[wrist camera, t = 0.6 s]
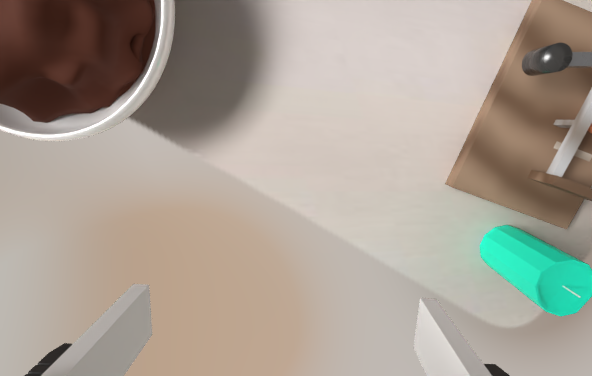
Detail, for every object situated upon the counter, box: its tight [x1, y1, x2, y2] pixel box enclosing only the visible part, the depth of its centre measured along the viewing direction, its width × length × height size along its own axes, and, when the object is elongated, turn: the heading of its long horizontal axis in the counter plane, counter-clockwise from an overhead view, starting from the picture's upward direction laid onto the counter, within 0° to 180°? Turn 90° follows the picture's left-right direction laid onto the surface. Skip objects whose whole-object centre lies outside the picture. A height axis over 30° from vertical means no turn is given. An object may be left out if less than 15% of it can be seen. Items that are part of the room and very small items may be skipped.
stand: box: [446, 0, 592, 229], centre depth 36 cm, size 22×15×6 cm
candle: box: [480, 225, 592, 316], centre depth 36 cm, size 6×6×12 cm
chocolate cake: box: [0, 0, 175, 141], centre depth 30 cm, size 25×25×15 cm
